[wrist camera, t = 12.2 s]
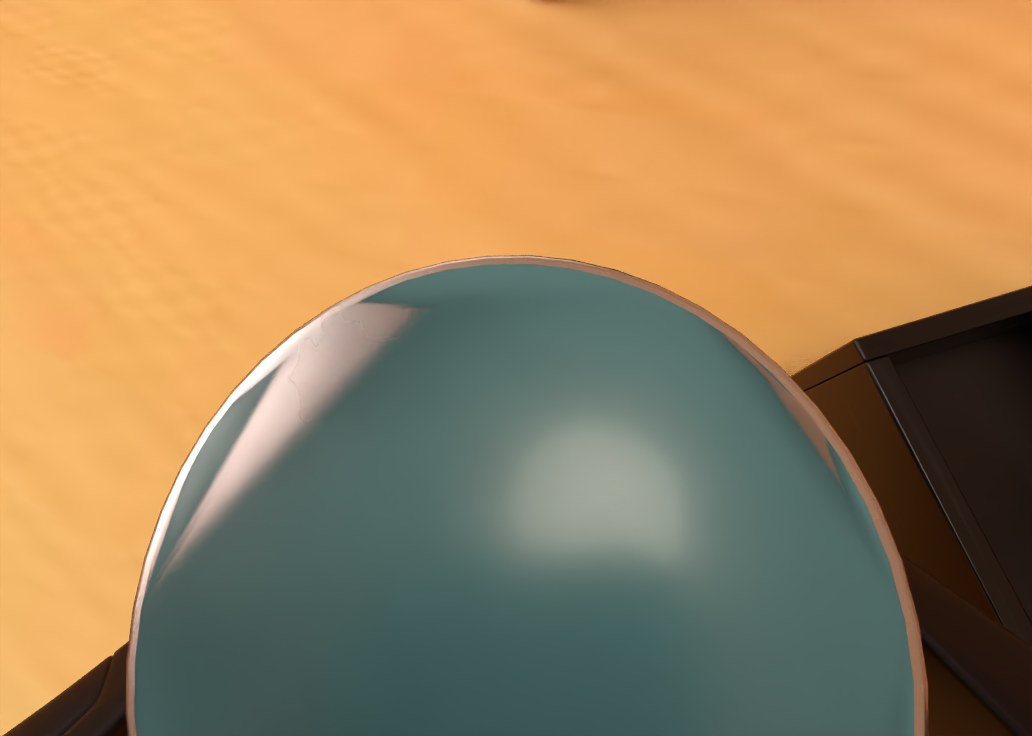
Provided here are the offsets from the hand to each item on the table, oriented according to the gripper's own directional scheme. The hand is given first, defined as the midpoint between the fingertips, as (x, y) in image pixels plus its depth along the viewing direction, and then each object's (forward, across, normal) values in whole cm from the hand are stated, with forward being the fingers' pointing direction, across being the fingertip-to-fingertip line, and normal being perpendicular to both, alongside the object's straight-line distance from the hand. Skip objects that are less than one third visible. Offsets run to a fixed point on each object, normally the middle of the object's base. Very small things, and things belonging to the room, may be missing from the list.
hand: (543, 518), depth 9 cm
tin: (+5, 0, +5) cm, 7 cm away
